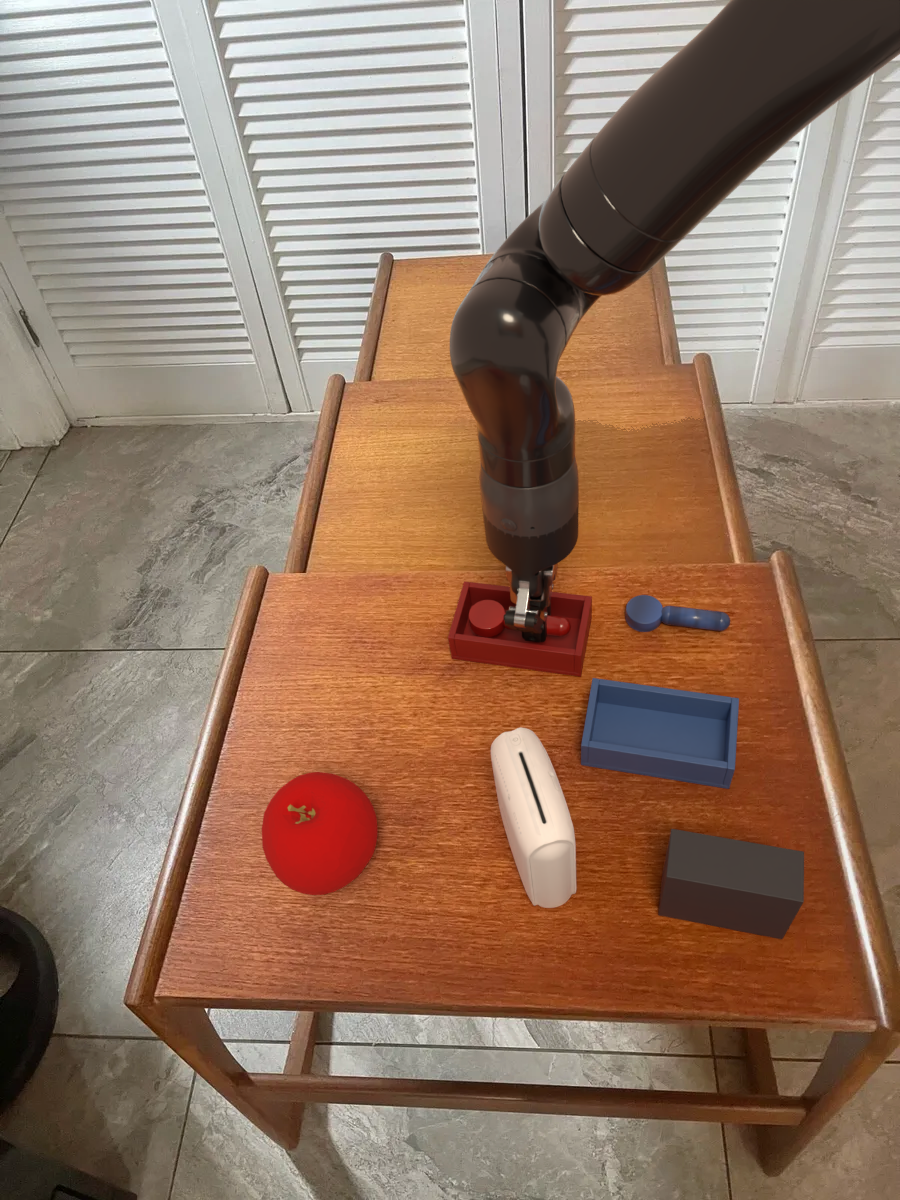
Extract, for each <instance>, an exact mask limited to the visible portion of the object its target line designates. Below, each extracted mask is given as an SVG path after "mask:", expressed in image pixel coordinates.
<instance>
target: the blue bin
mask: <svg viewBox="0 0 900 1200" xmlns="http://www.w3.org/2000/svg"><path fill="white" fill-rule="evenodd" d="M739 706H740V698H739V697H733V696H725V695H718V694H713V693H712V694H711V693H705V692H704V693H703V692H696V691H691V690H690V691H689V690H683V689H675V688H670V687H669V688H668V687H662V686H655V685H646V684H638V683H632V682H625V681H618V680H610V679H605V678H596V677H592V680H591V685H590V691H589V697H588V703H587V708H586V714H585V721H584V726H583V731H582V738H581V744H580V765H581V766H584V767H592V768H598V769H603V770H610V771H616V772H622V773H628V774H633V775H640V776H646V777H653V778H660V779H665V780H671V781H672V780H673V781H677V782H684V783H689V784H696V785H701V786H702V785H703V786H706V787H707V786H708V787H713V788H714V787H715V788H721V789H726V790H729V789H730V788H731V784H732V781H733V777H734V774H735V771H736V762H737V761H736V759H737V758H736V757H737V741H738V725H739V709H740V707H739Z"/></svg>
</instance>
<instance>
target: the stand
mask: <svg viewBox="0 0 900 1200" xmlns="http://www.w3.org/2000/svg"><path fill="white" fill-rule="evenodd" d="M662 867H663V868H662V872H661V873H662V874H661V883H660V884H661V885H660V893H659V904H658V913H657V915H658V916H660V917H666V918H670V919H675V920H681V921H686V922H691V923H697V924H701V925H707V926H712V927H715V928H716V927H717V928H722V929H726V930H733V931H737V932H741V933H747V934H754V935H758V936H763V937H768V938H772V939H778V940H783V939H784V938H785V936H786V934H787V932H788V931H789V929H790V927H791V925H792V923H793V922H794V920H795V918H796V916H797V914H798V912H799V911H800V909H801V907H802V906H803V904H804V902H805V895H804V894H805V851H802V850H797V849H792V848H791V849H790V848H786V847H779V846H774V845H769V844H762V843H757V842H750V841H745V840H739V839H734V838H728V837H723V836H716V835H711V834H706V833H699V832H693V831H688V830H682V829H676V828H670V831H669V838H668V843H667V847H666V853H665V857H664V862H663V866H662Z"/></svg>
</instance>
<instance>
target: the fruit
mask: <svg viewBox="0 0 900 1200" xmlns="http://www.w3.org/2000/svg"><path fill="white" fill-rule="evenodd" d="M378 829H379V827H378V818H377V813H376V810H375V808H374V805H373V804H372V801H371V800H370V799H369V797H368V796H367V794H366V793H365V792H364V791H363V790H362V789H361V788H360V787H359V786H358V785H357V784H356V783H354V782H353V781H352V780H350V779H348V778H347V777H344V776H340V775H337V774H335V773H333V772H331V773H330V772H321V771H313V772H307V773H303V774H300V775H298V776H296V777H294V778H292V779H291V780H289V781H288V782H287V783H285V784H284V785H283V786H282V787H280V788H279V789H278V790H277V791H276V793H275V794H274V795H273V796H272V798H271V799H270V800H269V802H268V804H267V806H266V808H265V810H264V812H263V817H262V823H261V845H262V846H261V847H262V850H263V854H264V857H265V859H266V861H267V863H268V865H269V867H270V869H271V870H272V872H273V873H274V875H275V877H276V878H277V879H278V880H279V881H280V882H281V883H282V884H283V885H284V886H286V887H287V888H288V889H290V890H293V891H295V892H297V893H300V894H303V895H309V896H324V895H329V894H331V893H334V892H337V891H338V890H341V889H343V888H344V887H346V886H348V885H349V884H350V883H352V882H353V881H354V880H356V879H357V878H358V877H359V876H360V874H362V872H363V871H364V869H365V868H366V866H367V865H368V864H369V862H370V861H371V859H372V857H373V856H374V853H375V850H376V846H377V840H378V835H379V834H378V833H379V832H378Z"/></svg>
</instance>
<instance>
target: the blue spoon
mask: <svg viewBox="0 0 900 1200" xmlns="http://www.w3.org/2000/svg"><path fill="white" fill-rule="evenodd" d="M625 621H626V622H625V623H626V624H627V625H628V626H629V628H631V629H632V630H634V631H637V632H639V633H648V632H649V633H650V632H653V631H655V630H656V629H658V628H659V626H660V625H661V624H662V623H663V624H664V625H667V626H674V627H675V626H676V627H684V628H691V629H699V630H700V629H701V630H708V631H714V632H715V631H716V632H723V631H726V630H727V629H728V628H729V627H730V625H731V618H730V615H729V614H727V613H726V612H724V611H719V610H710V609H702V608H695V607H694V608H693V607H685V606H677V605H665V606H663V604H662V603H661V601H660V600H658V599H657V598H656V597H654V596H652V595H649V594H640V595H635V596H634V597H631V598H630V599H629V600H628V602H627V603H626V606H625Z"/></svg>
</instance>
